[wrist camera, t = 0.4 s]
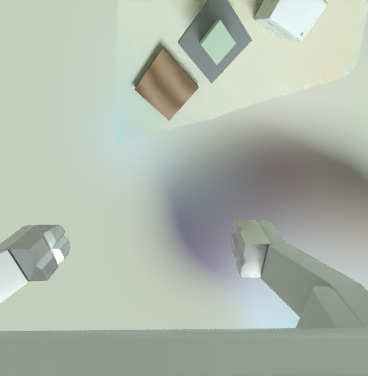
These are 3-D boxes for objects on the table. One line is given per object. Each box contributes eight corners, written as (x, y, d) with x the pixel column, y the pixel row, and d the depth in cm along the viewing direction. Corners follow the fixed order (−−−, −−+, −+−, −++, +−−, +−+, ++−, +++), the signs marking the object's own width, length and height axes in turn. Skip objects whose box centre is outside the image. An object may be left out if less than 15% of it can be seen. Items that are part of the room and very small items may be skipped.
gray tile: (218, -14, 35) (218, -14, 35) (251, 40, 40) (251, 40, 40) (178, 42, 41) (178, 42, 41) (211, 83, 47) (211, 83, 46)
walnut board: (163, 47, 42) (162, 47, 41) (198, 86, 47) (198, 87, 46) (135, 88, 48) (134, 89, 47) (169, 118, 53) (169, 120, 52)
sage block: (216, 20, 38) (220, 20, 33) (230, 41, 40) (236, 43, 35) (199, 42, 41) (200, 44, 36) (213, 60, 43) (216, 65, 38)
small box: (300, 8, 37) (330, 3, 29) (280, 39, 40) (301, 43, 33) (271, -17, 35) (294, -28, 27) (252, 19, 38) (268, 18, 30)
